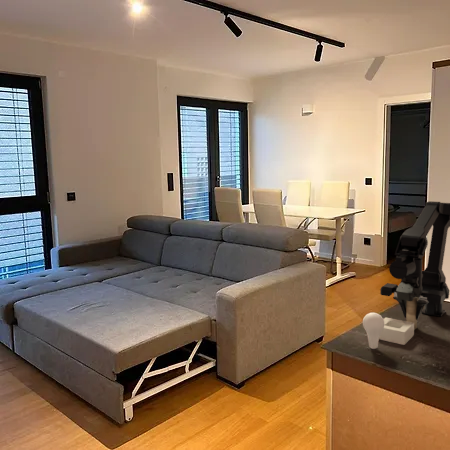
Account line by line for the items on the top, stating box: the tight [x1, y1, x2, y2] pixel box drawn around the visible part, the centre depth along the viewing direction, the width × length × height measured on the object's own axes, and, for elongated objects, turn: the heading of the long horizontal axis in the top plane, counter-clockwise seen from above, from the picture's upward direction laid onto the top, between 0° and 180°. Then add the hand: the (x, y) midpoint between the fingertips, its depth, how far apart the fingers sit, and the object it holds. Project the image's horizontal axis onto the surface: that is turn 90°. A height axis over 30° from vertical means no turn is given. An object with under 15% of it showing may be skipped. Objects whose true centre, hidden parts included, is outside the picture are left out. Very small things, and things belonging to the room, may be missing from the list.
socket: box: [379, 317, 415, 346], centre depth 141 cm, size 9×9×4 cm
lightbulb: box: [362, 312, 385, 350], centre depth 133 cm, size 6×6×11 cm
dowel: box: [405, 297, 418, 330], centre depth 147 cm, size 3×3×10 cm
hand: (411, 318), depth 148 cm, fingers closed on dowel, 3 cm apart
